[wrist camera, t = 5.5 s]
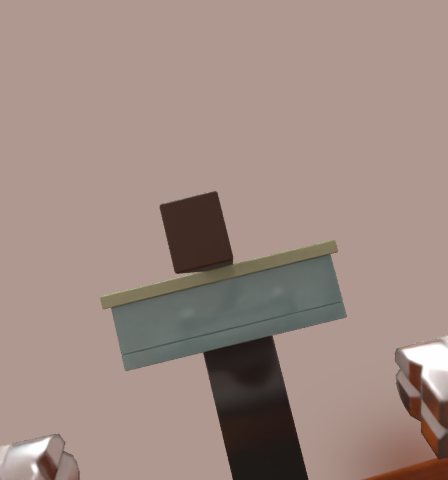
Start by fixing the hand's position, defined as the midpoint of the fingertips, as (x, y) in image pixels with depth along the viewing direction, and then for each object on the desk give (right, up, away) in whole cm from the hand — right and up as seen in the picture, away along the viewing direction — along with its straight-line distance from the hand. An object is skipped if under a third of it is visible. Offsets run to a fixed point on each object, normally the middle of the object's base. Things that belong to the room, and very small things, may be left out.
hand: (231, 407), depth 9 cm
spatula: (0, +1, +15) cm, 15 cm away
